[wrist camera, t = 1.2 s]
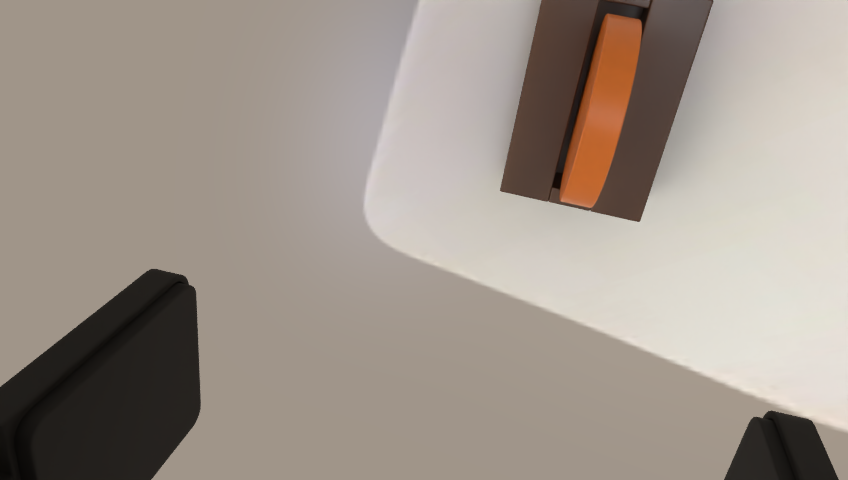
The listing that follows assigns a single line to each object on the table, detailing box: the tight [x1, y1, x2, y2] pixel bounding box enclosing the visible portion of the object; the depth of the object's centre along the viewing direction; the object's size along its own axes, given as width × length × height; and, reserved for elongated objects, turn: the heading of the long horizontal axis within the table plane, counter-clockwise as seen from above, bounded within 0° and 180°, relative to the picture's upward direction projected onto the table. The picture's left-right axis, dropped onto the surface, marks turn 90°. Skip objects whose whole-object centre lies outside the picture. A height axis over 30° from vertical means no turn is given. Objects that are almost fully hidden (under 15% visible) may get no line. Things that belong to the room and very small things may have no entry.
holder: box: [500, 0, 713, 222], centre depth 28 cm, size 6×9×2 cm, turn 171°
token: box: [560, 14, 642, 208], centre depth 25 cm, size 1×7×7 cm, turn 171°
